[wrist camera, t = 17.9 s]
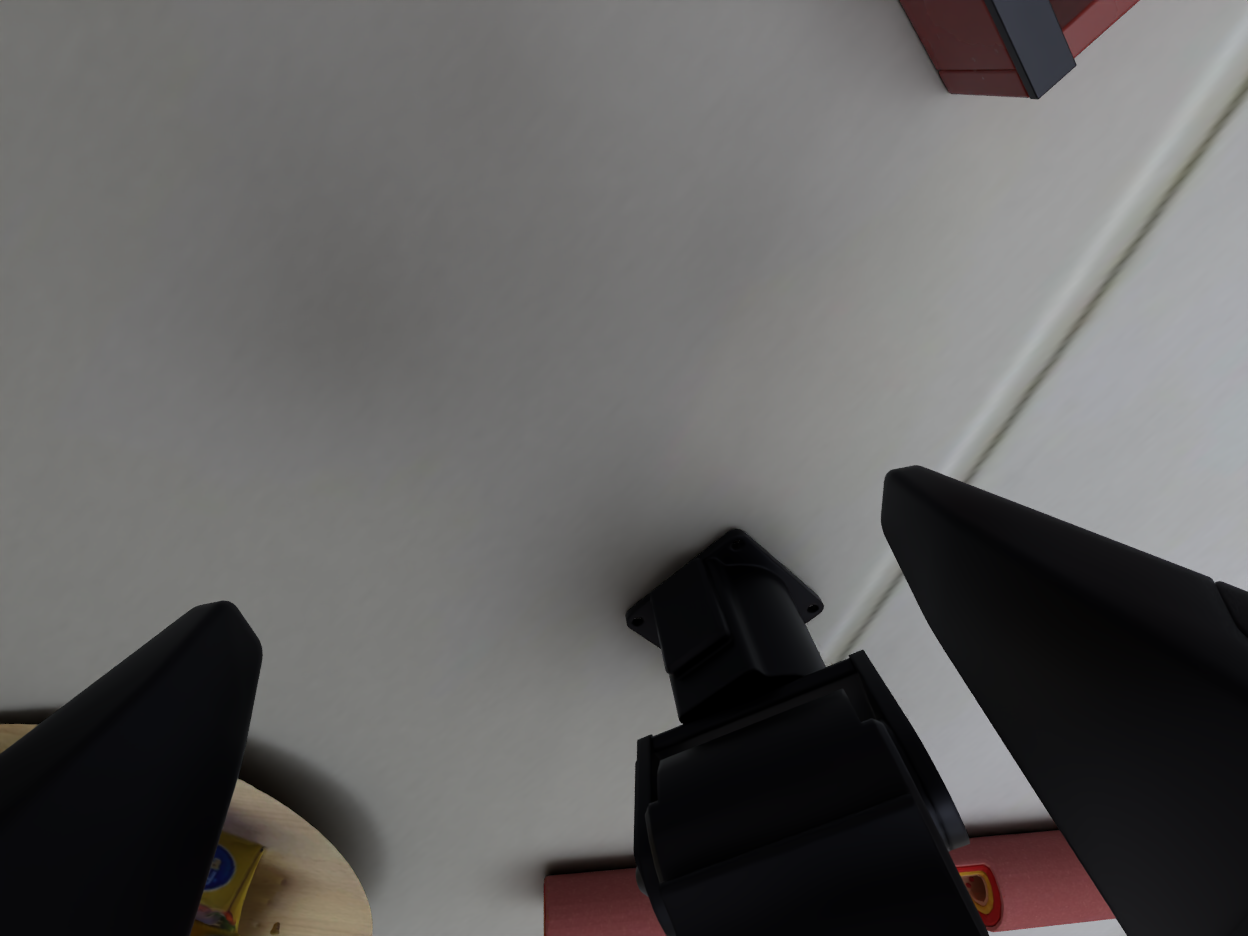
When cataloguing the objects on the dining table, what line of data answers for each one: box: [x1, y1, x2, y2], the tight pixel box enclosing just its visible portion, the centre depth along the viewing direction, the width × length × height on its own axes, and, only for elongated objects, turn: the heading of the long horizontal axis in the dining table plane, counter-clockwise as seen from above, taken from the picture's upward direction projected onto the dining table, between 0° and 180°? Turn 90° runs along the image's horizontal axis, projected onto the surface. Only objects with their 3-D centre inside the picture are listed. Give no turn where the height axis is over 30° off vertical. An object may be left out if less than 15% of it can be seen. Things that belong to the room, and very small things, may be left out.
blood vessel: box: [544, 830, 1116, 936], centre depth 39 cm, size 42×5×5 cm, turn 86°
